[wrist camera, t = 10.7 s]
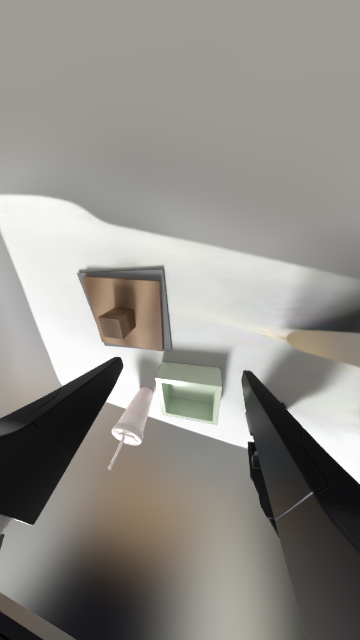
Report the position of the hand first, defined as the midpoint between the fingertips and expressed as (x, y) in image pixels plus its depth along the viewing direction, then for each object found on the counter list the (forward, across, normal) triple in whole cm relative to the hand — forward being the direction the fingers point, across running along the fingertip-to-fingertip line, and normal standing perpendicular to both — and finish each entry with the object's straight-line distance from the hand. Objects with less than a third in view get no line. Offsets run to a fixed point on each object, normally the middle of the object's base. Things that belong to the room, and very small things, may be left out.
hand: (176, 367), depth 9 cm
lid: (+13, +12, +2) cm, 17 cm away
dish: (+13, +1, +19) cm, 23 cm away
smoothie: (+13, +12, +24) cm, 30 cm away
